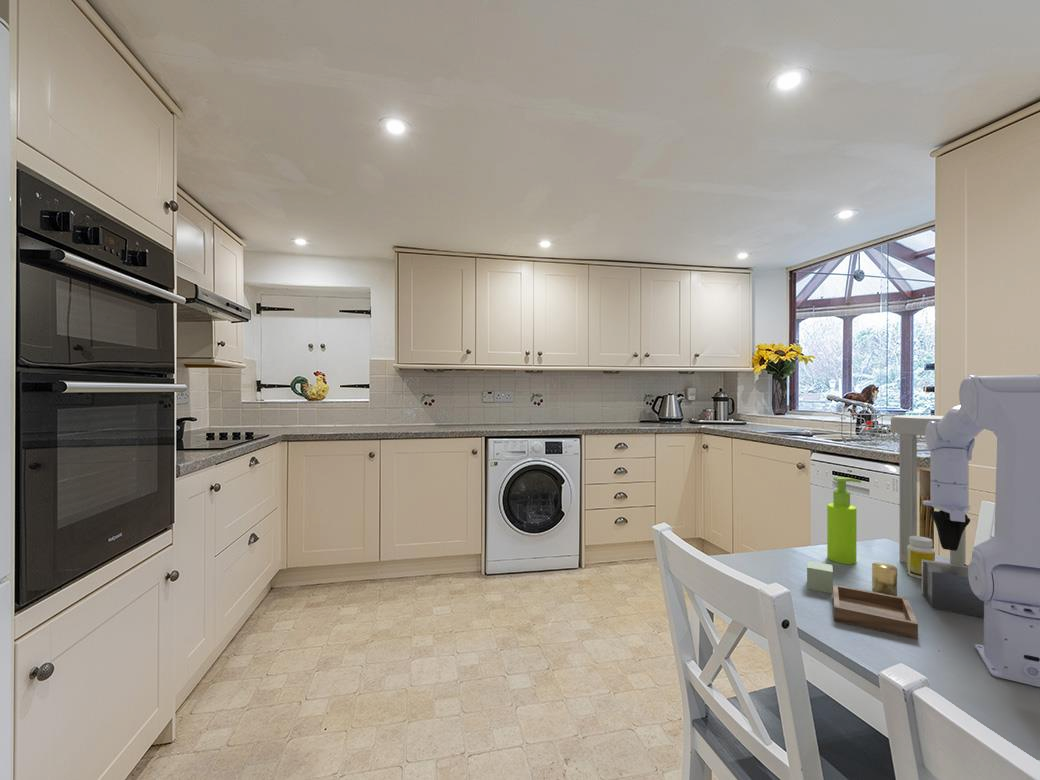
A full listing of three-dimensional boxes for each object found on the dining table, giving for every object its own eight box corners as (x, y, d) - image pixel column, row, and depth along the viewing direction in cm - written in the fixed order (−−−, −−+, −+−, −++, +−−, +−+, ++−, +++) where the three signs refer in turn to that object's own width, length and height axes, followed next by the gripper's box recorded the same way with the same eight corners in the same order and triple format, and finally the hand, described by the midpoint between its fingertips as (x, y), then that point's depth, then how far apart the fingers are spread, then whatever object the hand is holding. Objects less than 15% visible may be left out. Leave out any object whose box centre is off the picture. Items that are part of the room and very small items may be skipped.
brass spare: (898, 602, 92) (898, 571, 92) (873, 597, 94) (873, 567, 94) (895, 594, 95) (895, 565, 95) (871, 590, 97) (871, 561, 97)
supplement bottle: (940, 581, 102) (940, 542, 102) (915, 579, 103) (915, 541, 103) (926, 572, 107) (926, 535, 107) (902, 571, 108) (902, 534, 108)
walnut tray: (918, 639, 78) (918, 624, 78) (834, 620, 84) (834, 606, 84) (907, 611, 88) (907, 598, 88) (832, 596, 94) (832, 584, 94)
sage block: (832, 593, 96) (832, 571, 96) (807, 588, 98) (807, 567, 98) (832, 586, 100) (832, 564, 100) (807, 581, 102) (807, 560, 102)
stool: (887, 561, 114) (887, 416, 113) (896, 546, 124) (896, 414, 124) (976, 579, 103) (976, 419, 103) (977, 561, 114) (977, 416, 114)
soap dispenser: (866, 564, 111) (866, 480, 111) (834, 563, 112) (834, 479, 112) (853, 556, 117) (852, 476, 117) (822, 554, 118) (822, 475, 118)
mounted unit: (994, 620, 85) (994, 581, 85) (928, 607, 90) (928, 570, 90) (981, 604, 91) (981, 567, 91) (921, 593, 96) (921, 558, 96)
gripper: (917, 474, 103) (917, 536, 103) (930, 485, 91) (930, 556, 91) (960, 477, 99) (960, 541, 99) (980, 489, 87) (980, 563, 87)
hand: (949, 549), depth 95 cm, fingers closed
